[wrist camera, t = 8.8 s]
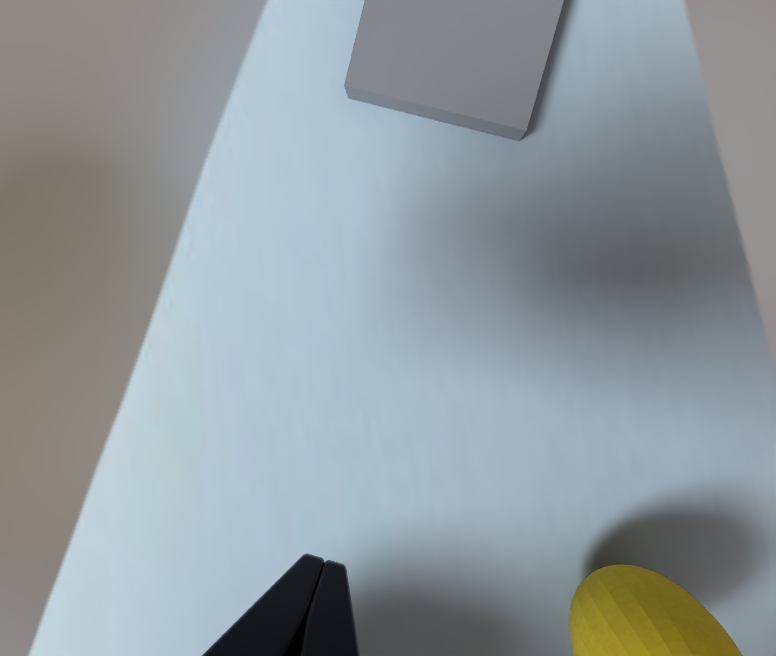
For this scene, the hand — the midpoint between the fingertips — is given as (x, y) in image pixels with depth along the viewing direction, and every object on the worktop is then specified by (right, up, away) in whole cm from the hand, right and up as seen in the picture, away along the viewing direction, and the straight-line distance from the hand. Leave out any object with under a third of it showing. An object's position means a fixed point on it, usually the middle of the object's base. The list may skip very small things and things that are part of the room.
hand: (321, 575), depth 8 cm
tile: (+3, +14, +10) cm, 18 cm away
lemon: (+12, -7, +12) cm, 18 cm away
